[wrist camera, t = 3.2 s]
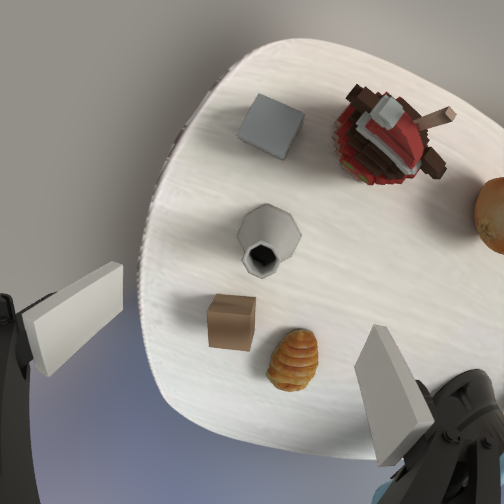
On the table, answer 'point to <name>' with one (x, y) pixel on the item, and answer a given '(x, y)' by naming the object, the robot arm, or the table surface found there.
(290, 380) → the pastry
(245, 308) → the walnut block
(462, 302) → the table surface
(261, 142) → the slate-grey block
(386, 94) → the cake
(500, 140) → the table surface
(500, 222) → the onion
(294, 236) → the flask
